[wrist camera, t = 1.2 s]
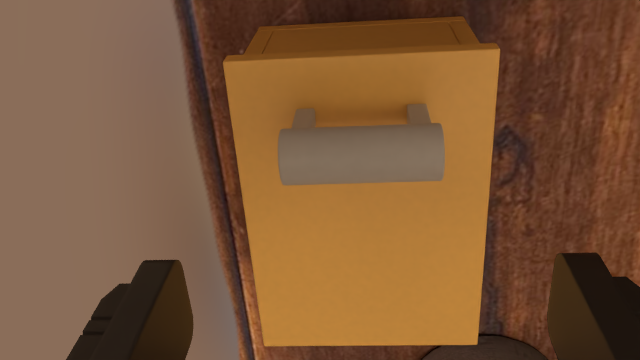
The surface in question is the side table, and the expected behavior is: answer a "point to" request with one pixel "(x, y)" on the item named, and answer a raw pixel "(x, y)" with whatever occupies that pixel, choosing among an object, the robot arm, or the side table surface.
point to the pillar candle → (487, 350)
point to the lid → (366, 190)
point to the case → (362, 35)
